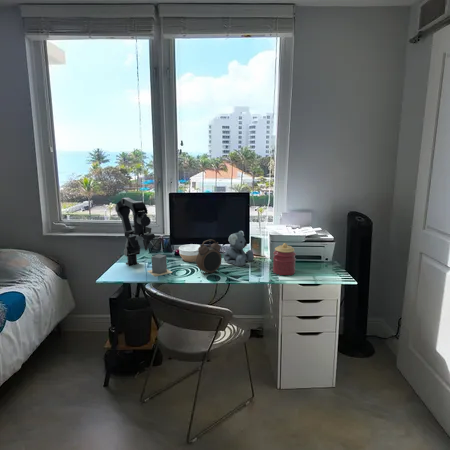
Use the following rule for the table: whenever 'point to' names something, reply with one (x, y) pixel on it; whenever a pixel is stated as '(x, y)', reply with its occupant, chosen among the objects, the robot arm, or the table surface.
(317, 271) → the table surface
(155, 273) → the cork mat
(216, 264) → the alarm clock
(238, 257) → the koala plush
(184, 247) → the bowl
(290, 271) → the canister
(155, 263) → the gray rectangular block
